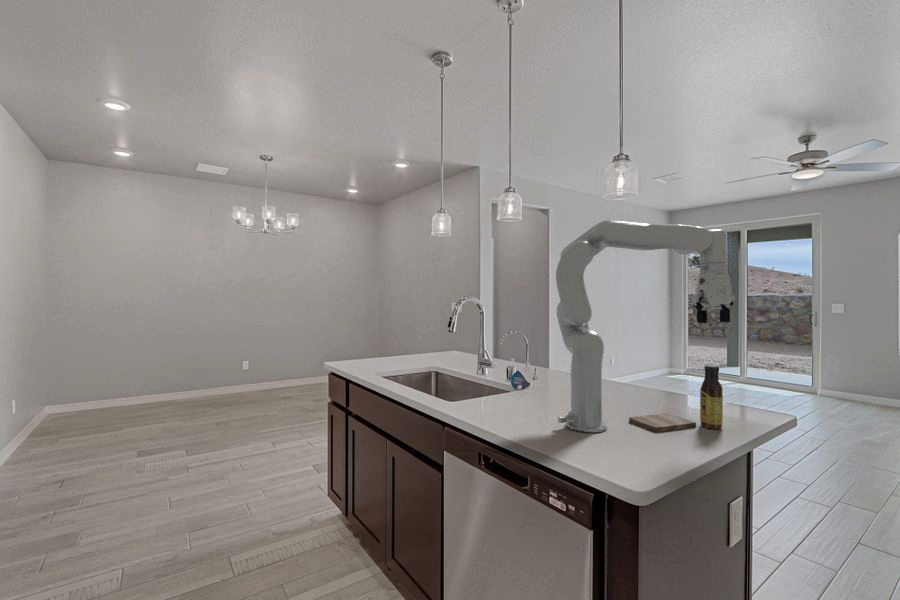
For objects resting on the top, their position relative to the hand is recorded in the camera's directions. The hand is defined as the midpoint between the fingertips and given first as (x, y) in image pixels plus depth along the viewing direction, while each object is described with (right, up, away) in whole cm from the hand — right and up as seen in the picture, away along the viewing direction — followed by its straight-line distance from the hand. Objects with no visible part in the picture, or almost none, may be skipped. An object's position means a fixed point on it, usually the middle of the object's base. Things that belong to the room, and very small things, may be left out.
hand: (713, 322), depth 140 cm
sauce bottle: (0, -34, +1) cm, 34 cm away
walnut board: (-15, -34, +4) cm, 37 cm away
